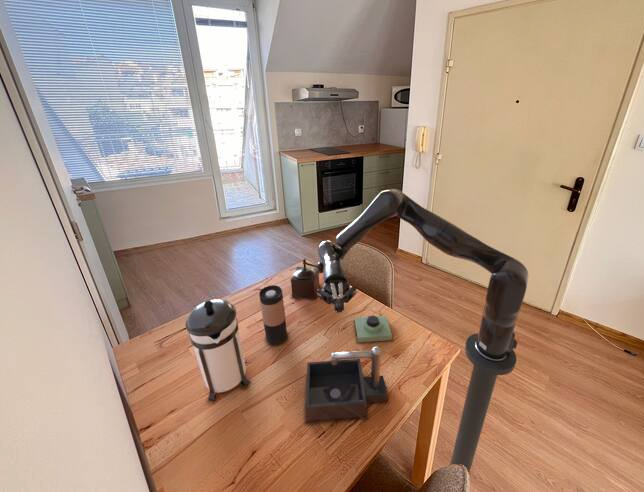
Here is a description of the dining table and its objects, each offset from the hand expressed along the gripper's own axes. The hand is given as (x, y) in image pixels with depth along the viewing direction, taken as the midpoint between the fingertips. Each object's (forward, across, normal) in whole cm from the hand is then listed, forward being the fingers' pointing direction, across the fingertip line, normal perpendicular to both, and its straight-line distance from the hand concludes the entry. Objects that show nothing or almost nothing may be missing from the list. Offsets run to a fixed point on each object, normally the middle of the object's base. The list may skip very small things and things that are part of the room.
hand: (339, 310), depth 83 cm
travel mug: (-16, -22, +24) cm, 36 cm away
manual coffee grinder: (-41, -9, +24) cm, 48 cm away
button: (-15, +13, +20) cm, 28 cm away
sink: (+9, +1, +24) cm, 25 cm away
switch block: (-15, +13, +24) cm, 31 cm away
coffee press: (-2, -36, +24) cm, 43 cm away
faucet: (+9, +3, +20) cm, 22 cm away
